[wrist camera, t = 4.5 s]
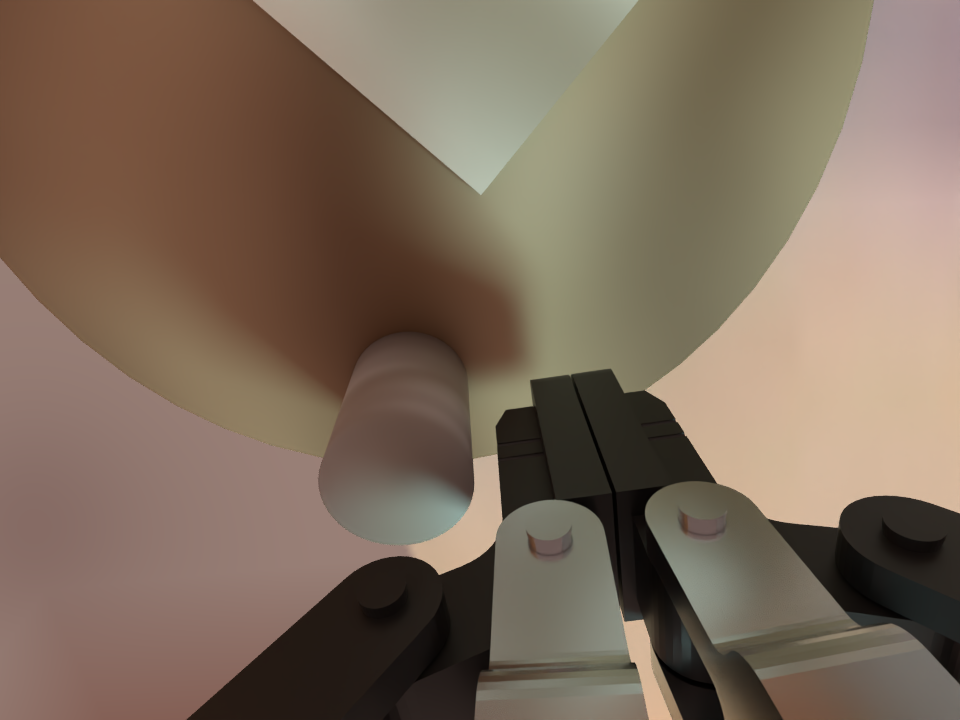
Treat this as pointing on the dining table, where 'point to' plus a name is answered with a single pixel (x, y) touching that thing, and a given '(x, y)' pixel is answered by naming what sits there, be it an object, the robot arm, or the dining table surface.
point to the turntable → (406, 205)
